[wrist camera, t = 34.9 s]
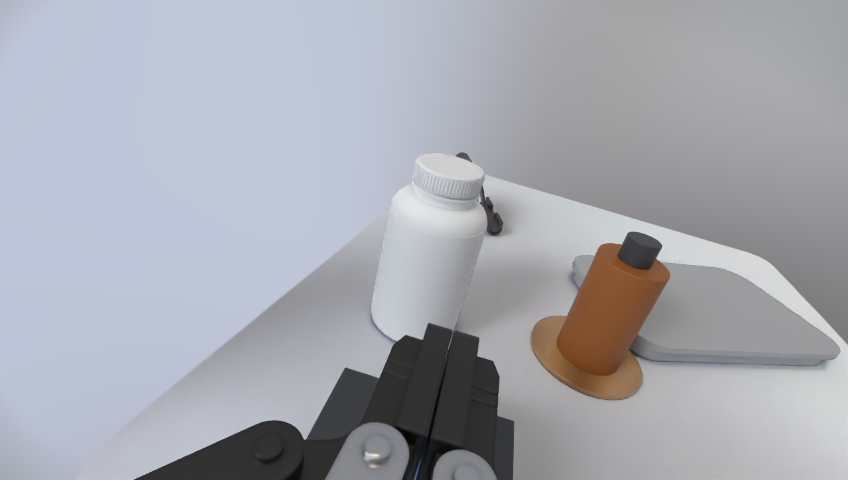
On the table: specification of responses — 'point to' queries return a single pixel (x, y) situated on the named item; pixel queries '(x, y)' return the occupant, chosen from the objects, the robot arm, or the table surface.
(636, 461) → the table surface
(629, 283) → the bottle
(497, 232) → the tablet stand
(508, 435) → the dark grey button base
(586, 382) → the coaster
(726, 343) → the tablet
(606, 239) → the table surface
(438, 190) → the pill bottle
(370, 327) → the table surface
